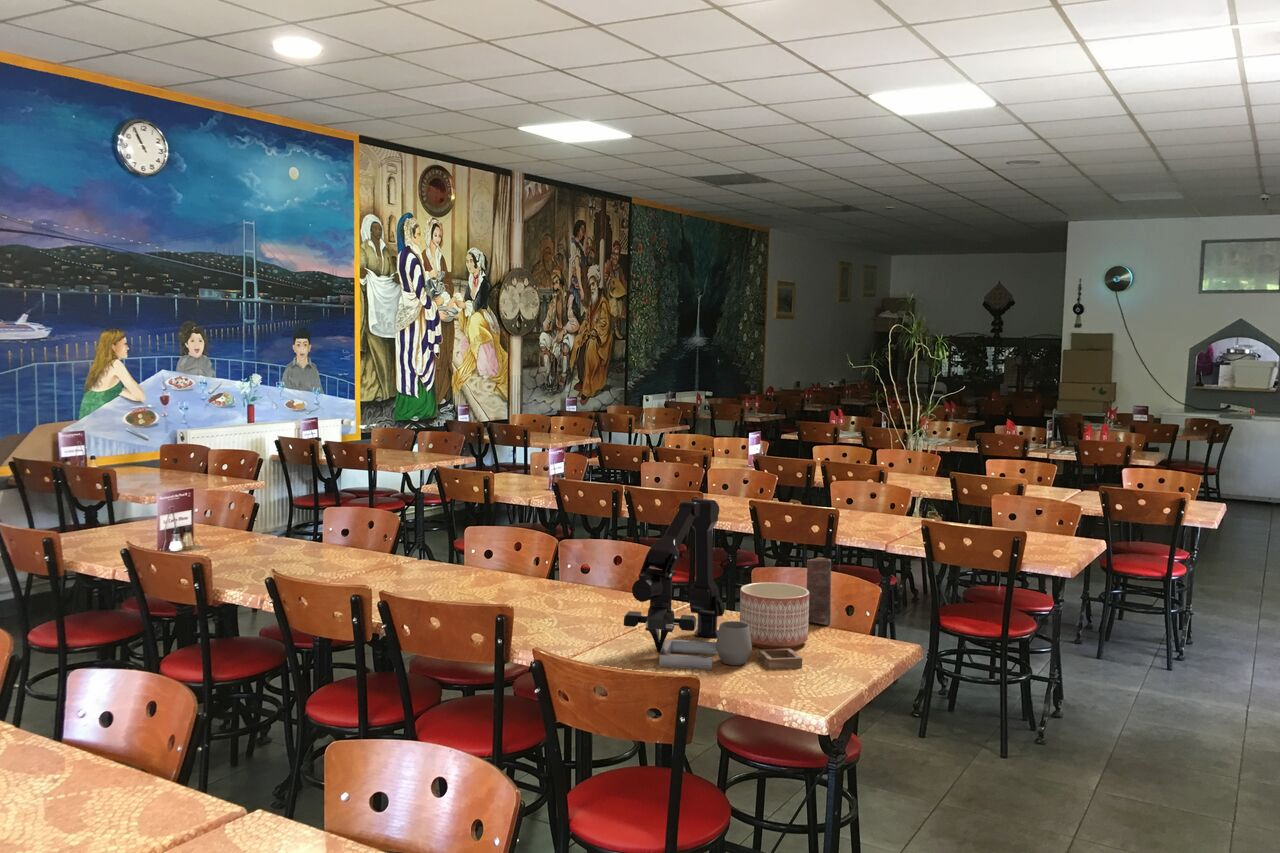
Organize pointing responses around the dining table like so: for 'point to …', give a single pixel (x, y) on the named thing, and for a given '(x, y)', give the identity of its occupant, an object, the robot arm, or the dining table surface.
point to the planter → (775, 614)
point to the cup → (733, 642)
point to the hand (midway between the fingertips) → (659, 652)
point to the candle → (819, 590)
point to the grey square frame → (687, 660)
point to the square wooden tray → (779, 658)
